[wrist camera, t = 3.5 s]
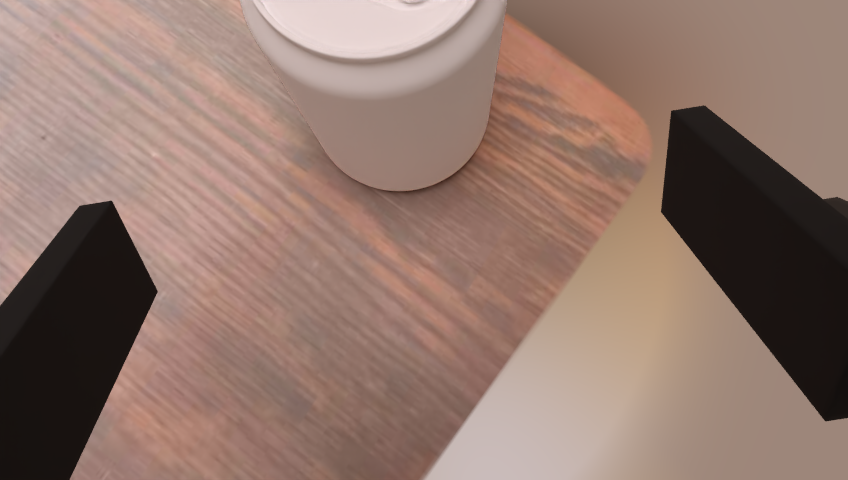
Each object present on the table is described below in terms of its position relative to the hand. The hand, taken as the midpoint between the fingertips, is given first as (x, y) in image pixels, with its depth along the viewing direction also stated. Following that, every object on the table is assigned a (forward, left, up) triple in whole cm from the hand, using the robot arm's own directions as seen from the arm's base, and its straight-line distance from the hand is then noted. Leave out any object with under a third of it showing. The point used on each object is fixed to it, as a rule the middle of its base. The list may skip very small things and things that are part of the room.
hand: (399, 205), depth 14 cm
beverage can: (+5, -5, -13) cm, 15 cm away
